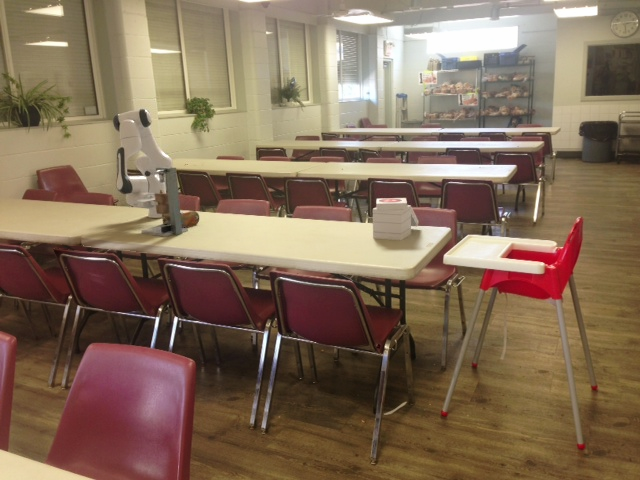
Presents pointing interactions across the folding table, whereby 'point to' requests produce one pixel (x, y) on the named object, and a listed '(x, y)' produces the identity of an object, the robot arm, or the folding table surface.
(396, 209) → the pizza boxes
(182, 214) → the tin
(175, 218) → the press
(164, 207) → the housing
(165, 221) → the coffee box
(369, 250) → the folding table surface
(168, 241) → the folding table surface
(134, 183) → the robot arm
